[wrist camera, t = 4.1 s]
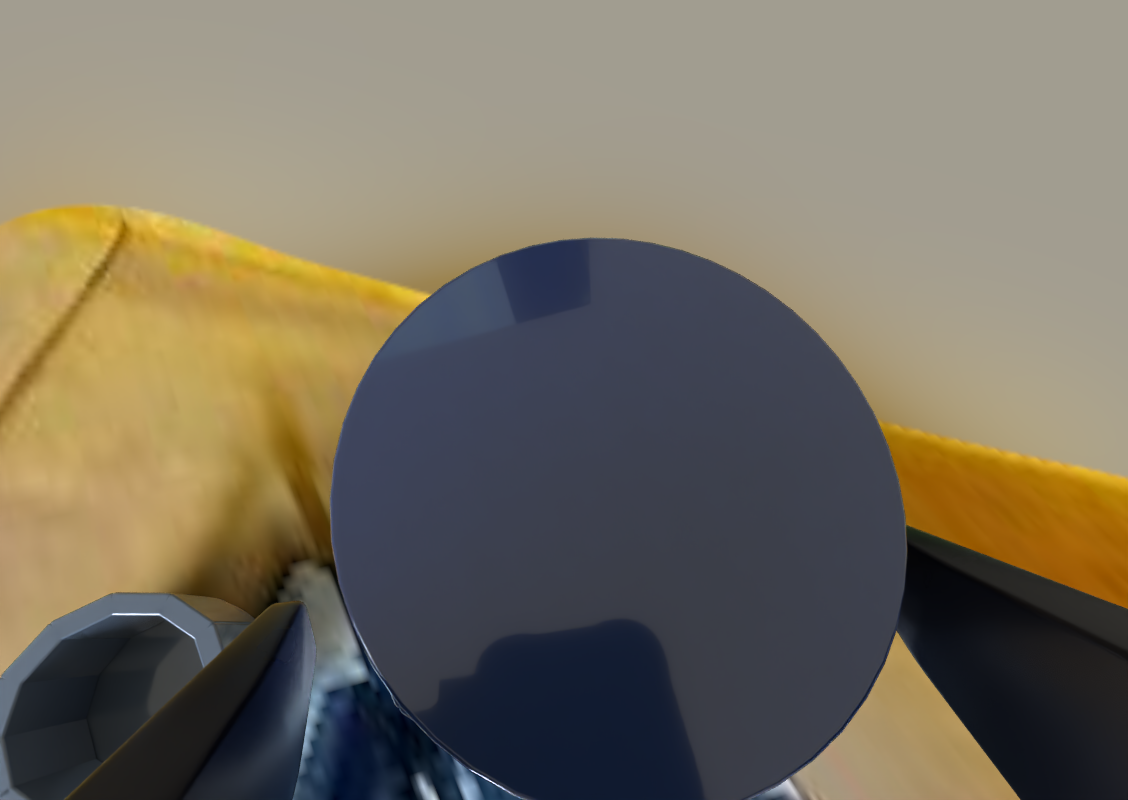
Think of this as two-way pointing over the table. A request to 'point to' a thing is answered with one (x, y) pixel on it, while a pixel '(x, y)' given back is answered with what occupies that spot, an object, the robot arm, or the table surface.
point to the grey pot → (101, 683)
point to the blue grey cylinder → (618, 526)
